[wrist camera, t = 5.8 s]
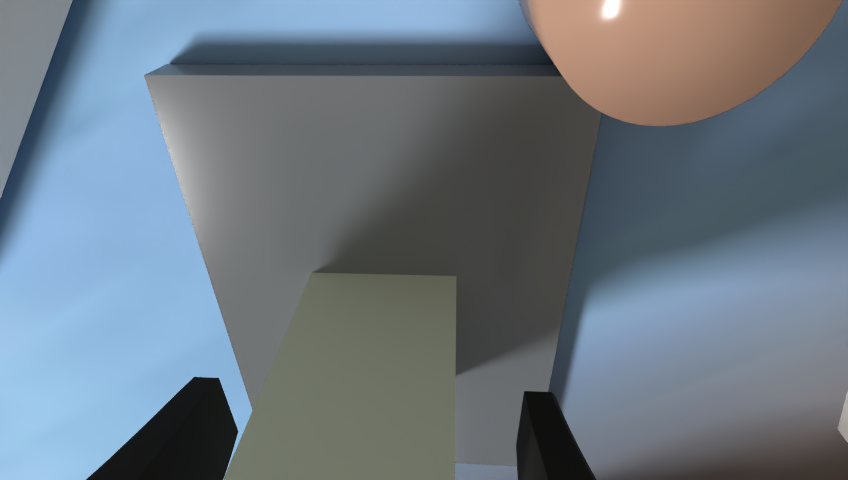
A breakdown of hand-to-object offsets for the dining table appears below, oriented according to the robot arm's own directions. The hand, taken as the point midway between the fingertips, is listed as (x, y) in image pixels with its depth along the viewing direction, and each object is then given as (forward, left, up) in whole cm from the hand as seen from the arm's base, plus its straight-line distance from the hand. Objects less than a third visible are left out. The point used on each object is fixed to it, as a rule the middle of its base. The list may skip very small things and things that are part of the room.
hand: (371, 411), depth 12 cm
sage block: (0, 0, -3) cm, 3 cm away
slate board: (0, 0, -4) cm, 4 cm away
